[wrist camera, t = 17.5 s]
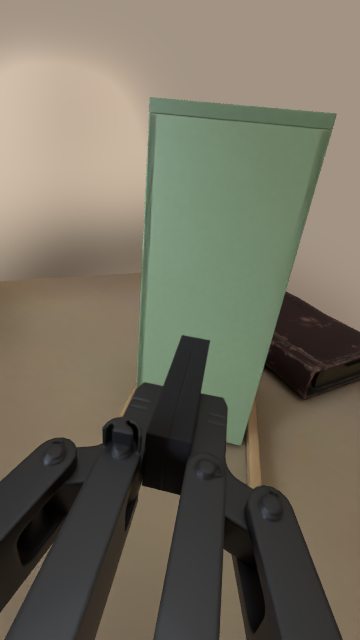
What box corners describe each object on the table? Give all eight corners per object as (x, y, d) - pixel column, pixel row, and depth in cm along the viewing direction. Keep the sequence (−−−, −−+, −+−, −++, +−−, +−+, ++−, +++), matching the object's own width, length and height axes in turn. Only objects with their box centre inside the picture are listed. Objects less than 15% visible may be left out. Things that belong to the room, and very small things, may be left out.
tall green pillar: (134, 422, 31) (149, 96, 18) (159, 365, 40) (180, 125, 27) (240, 446, 29) (337, 113, 17) (240, 381, 39) (301, 137, 26)
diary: (299, 402, 37) (312, 370, 34) (200, 316, 56) (203, 292, 54) (384, 372, 45) (398, 345, 43) (271, 306, 64) (277, 285, 62)
